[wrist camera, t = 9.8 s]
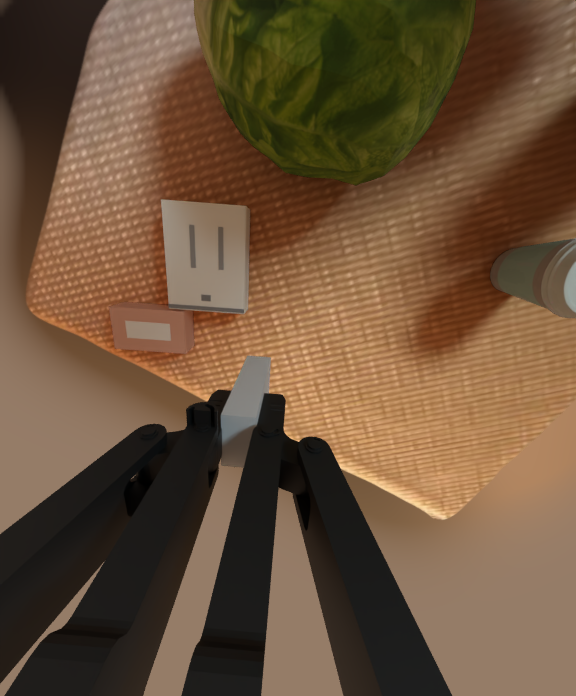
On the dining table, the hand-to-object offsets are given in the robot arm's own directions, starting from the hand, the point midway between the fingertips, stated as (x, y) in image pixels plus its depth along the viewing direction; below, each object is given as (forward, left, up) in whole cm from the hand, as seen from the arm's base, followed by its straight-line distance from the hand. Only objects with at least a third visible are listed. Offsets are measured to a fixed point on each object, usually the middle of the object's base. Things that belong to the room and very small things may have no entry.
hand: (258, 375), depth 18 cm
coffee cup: (-7, +32, -24) cm, 40 cm away
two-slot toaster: (-6, -9, -23) cm, 26 cm away
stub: (+4, -17, -23) cm, 29 cm away
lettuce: (-24, +3, -24) cm, 34 cm away
